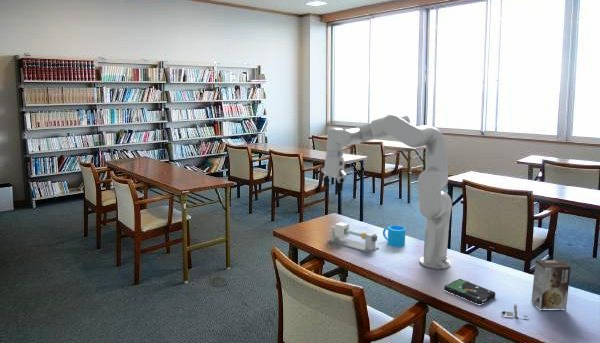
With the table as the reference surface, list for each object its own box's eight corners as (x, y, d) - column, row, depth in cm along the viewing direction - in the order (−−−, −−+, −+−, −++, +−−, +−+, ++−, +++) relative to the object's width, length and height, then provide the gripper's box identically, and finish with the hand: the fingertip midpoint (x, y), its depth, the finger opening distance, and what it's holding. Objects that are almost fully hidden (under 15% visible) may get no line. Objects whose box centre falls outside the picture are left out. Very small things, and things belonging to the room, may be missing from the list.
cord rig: (379, 248, 213) (380, 233, 211) (370, 253, 207) (371, 237, 205) (337, 237, 228) (337, 222, 227) (327, 241, 222) (327, 226, 221)
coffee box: (555, 302, 162) (560, 259, 159) (566, 311, 155) (572, 266, 152) (530, 302, 161) (534, 259, 158) (540, 311, 155) (545, 266, 152)
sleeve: (348, 235, 222) (349, 223, 220) (342, 238, 218) (343, 226, 217) (340, 233, 225) (340, 221, 224) (334, 236, 221) (334, 224, 220)
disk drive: (495, 299, 165) (459, 284, 176) (496, 292, 164) (459, 277, 176) (479, 307, 159) (443, 291, 170) (480, 300, 158) (443, 284, 169)
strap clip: (501, 317, 151) (502, 305, 150) (500, 313, 154) (501, 301, 153) (529, 321, 149) (530, 309, 148) (527, 316, 152) (529, 305, 151)
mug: (408, 244, 219) (409, 228, 218) (398, 248, 214) (399, 231, 212) (387, 238, 228) (388, 222, 226) (377, 241, 222) (378, 225, 221)
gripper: (352, 155, 213) (350, 191, 216) (328, 150, 226) (326, 183, 230) (341, 157, 208) (339, 193, 212) (316, 151, 222) (315, 185, 225)
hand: (332, 188), depth 221 cm, fingers open, 9 cm apart
